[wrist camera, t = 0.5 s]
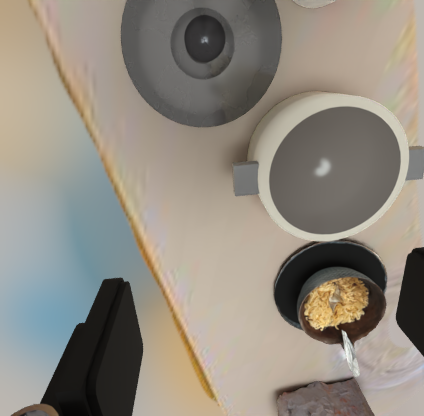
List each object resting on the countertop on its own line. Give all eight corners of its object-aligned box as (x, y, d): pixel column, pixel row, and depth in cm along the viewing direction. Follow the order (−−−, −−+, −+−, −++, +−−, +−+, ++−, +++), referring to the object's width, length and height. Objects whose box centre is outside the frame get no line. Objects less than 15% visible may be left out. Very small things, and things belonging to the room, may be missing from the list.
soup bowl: (397, 243, 41) (438, 276, 34) (355, 335, 47) (383, 380, 40) (288, 229, 39) (308, 262, 33) (259, 327, 45) (271, 372, 39)
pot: (223, 98, 33) (231, 104, 26) (397, 83, 33) (449, 86, 26) (230, 220, 38) (239, 250, 31) (379, 206, 39) (418, 233, 32)
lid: (108, -43, 28) (82, -80, 21) (279, -56, 28) (306, -96, 22) (137, 131, 34) (124, 145, 27) (278, 119, 34) (298, 129, 27)
